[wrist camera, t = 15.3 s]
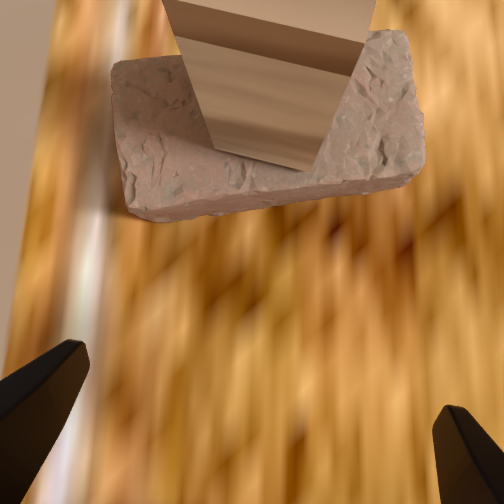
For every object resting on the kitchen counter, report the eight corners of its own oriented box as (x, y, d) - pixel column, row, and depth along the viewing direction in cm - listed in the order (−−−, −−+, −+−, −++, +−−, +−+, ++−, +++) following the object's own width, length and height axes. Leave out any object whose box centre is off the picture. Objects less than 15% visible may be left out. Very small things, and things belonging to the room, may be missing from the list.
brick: (385, 64, 24) (415, 10, 19) (408, 191, 23) (445, 167, 18) (133, 103, 24) (101, 59, 19) (147, 228, 23) (117, 215, 19)
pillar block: (309, 172, 18) (364, 43, 9) (214, 148, 19) (160, -4, 9) (333, 80, 19) (413, -147, 9) (239, 58, 19) (215, -187, 9)
